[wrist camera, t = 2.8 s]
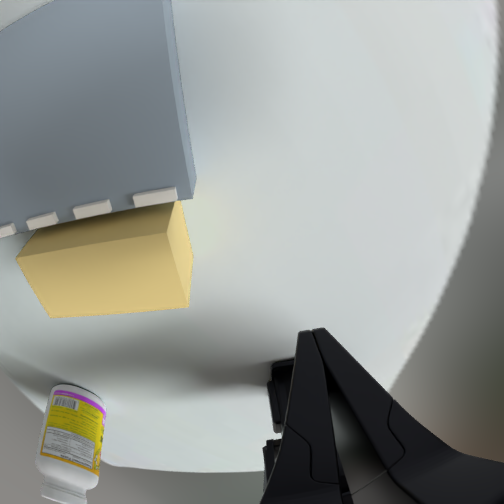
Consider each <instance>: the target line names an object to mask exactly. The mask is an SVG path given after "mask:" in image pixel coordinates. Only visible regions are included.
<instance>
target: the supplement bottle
mask: <svg viewBox="0 0 504 504" xmlns="http://www.w3.org/2000/svg"><path fill="white" fill-rule="evenodd" d="M105 418H106V406H105V404H104V403H103V401H102V400H101V399H100V398H98V397H97V396H96V395H94V394H92V393H91V392H88V391H86V390H84V389H82V388H79V387H76V386H72V385H66V384H61V385H57V386H54V387H53V388H52V390H51V393H50V396H49V400H48V403H47V407H46V411H45V416H44V420H43V424H42V429H41V434H40V438H39V443H38V449H37V453H36V459H35V463H36V466H37V468H38V470H39V471H40V473H42V474H43V475H44V483H43V484H42V486H41V496H43V497H45V498H48V499H51V500H53V501H56V502H60V503H62V504H87V500H86V497H85V493H86V490H87V489H92V488H94V487H95V486H96V485H97V484H98V478H99V466H100V456H101V448H102V440H103V432H104V425H105Z"/></svg>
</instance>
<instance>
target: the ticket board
mask: <svg viewBox="0 0 504 504" xmlns="http://www.w3.org/2000/svg"><path fill="white" fill-rule="evenodd" d="M195 183H196V173H195V167H194V161H193V155H192V149H191V143H190V137H189V131H188V125H187V119H186V112H185V106H184V99H183V92H182V85H181V78H180V71H179V64H178V56H177V48H176V40H175V32H174V24H173V15H172V6H171V0H54V1H52V2H50V3H48V4H46V5H44V6H43V7H41V8H39V9H37V10H35V11H33V12H31V13H30V14H28V15H26V16H24V17H23V18H21V19H19V20H18V21H16V22H14V23H13V24H11V25H10V26H8V27H6V28H5V29H3V30H2V31H0V238H3V237H7V236H10V235H14V234H18V233H22V232H26V231H30V230H34V229H38V228H42V227H47V226H51V225H55V224H60V223H64V222H69V221H73V220H78V219H82V218H87V217H92V216H97V215H102V214H107V213H112V212H117V211H122V210H128V209H133V208H139V207H144V206H150V205H156V204H162V203H168V202H174V201H181V200H187V199H193V194H194V188H195Z"/></svg>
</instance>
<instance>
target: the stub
mask: <svg viewBox="0 0 504 504" xmlns="http://www.w3.org/2000/svg"><path fill="white" fill-rule="evenodd" d="M15 259H16V261H17V263H18V264H19V266H20V268H21V270H22V272H23V274H24V276H25V277H26V279H27V281H28V283H29V284H30V286H31V288H32V289H33V291H34V293H35V294H36V296H37V298H38V299H39V301H40V303H41V304H42V306H43V307H44V309H45V310H46V312H47V314H48V315H49V317H50V318H62V317H79V316H95V315H109V314H122V313H134V312H145V311H156V310H166V309H176V308H186V307H189V299H190V287H191V275H192V264H193V252H192V248H191V244H190V240H189V236H188V232H187V227H186V223H185V219H184V214H183V210H182V205H181V201H174V202H168V203H162V204H156V205H150V206H144V207H139V208H133V209H128V210H122V211H117V212H112V213H107V214H102V215H97V216H92V217H87V218H82V219H78V220H73V221H69V222H64V223H60V224H55V225H51V226H47V227H42V228H38V230H37V231H36V232H35V233H34V235H33V236H32V237H31V238H30V240H29V241H28V242H27V243H26V245H25V246H24V247H23V249H22V250H21V251H20V253H19V254H18V255H17V257H16V258H15Z"/></svg>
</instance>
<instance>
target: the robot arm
mask: <svg viewBox="0 0 504 504" xmlns="http://www.w3.org/2000/svg"><path fill="white" fill-rule="evenodd" d="M271 377H272V380H270V381H268V382H267V389H268V397H269V404H270V410H271V417H272V423H273V430H274V432H275V433H281V435H282V439H277V440H273V439H271V440H266V445H267V446H265V447H263V455H264V464H265V470H264V489H263V492H264V494H263V496H262V499H261V501H260V503H259V504H504V463H503V462H498V461H493V460H488V459H484V458H479V457H475V456H471V455H467V454H464V453H461V452H459V451H456V450H455V449H453V448H451V447H450V446H448V445H447V444H446V443H444V442H443V441H442V440H441V439H439V438H438V437H437V436H435V435H434V434H433V433H431V432H430V431H429V430H428V429H426V428H425V427H424V426H423V425H421V424H420V423H419V422H418V421H417V420H415V419H414V418H413V417H412V416H411V415H410V414H409V413H408V412H407V411H405V409H404V408H402V407H401V406H400V405H399V403H398V402H396V400H394V399H393V398H392V397H391V395H390V394H389V393H388V392H387V391H386V390H385V389H384V388H383V387H382V386H381V385H380V384H379V383H378V382H377V381H376V380H375V379H374V378H373V377H372V376H371V375H370V374H369V373H368V372H367V371H366V370H365V369H364V368H363V367H362V366H361V365H360V364H359V363H358V362H357V361H356V360H355V359H354V358H353V356H352V355H351V354H350V353H349V352H348V351H347V350H346V349H345V348H344V347H343V346H342V345H341V344H340V343H339V342H338V341H337V340H336V339H335V338H334V337H333V336H332V335H331V334H330V333H329V332H328V331H327V330H326V329H325V328H317V329H312V331H311V330H305V331H300V332H299V333H298V338H297V346H296V353H295V360H291V361H285V362H278V363H274V364H272V365H271Z"/></svg>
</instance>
